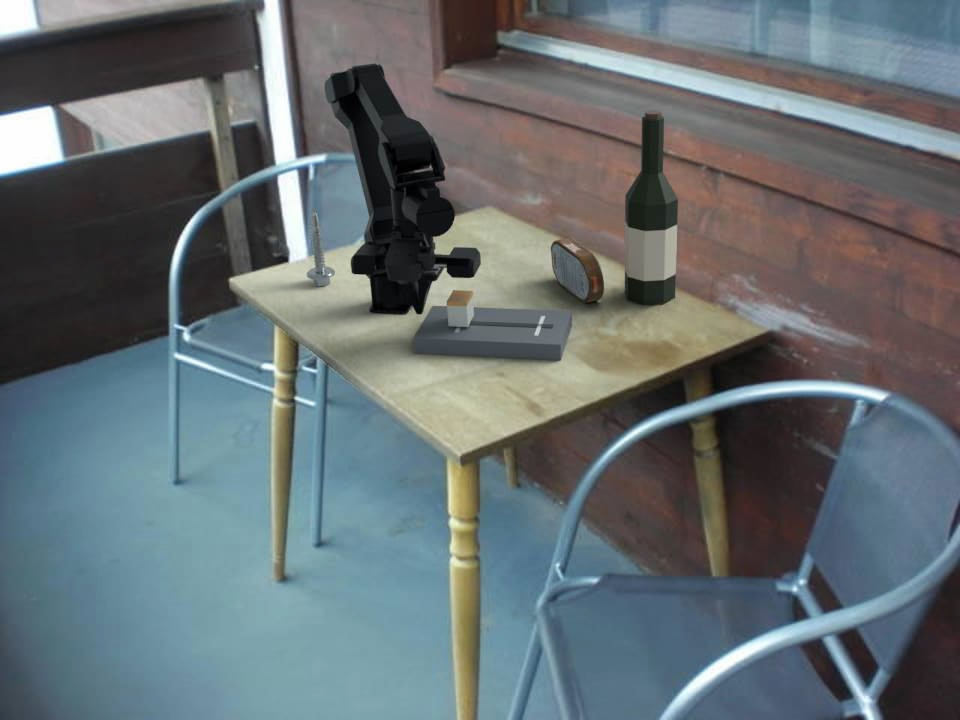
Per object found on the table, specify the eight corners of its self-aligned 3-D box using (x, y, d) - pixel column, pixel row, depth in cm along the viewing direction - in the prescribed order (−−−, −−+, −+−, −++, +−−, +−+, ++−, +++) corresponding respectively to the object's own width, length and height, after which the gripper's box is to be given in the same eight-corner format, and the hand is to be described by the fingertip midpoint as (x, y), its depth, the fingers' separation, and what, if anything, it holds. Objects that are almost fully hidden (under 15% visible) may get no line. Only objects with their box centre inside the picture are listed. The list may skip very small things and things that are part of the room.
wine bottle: (641, 309, 181) (643, 122, 168) (614, 291, 188) (615, 110, 175) (685, 298, 184) (691, 113, 171) (657, 281, 191) (661, 102, 178)
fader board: (414, 353, 171) (413, 337, 170) (433, 320, 182) (432, 305, 180) (560, 360, 167) (560, 343, 166) (571, 325, 177) (571, 310, 176)
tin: (605, 307, 183) (605, 258, 179) (588, 311, 182) (587, 261, 178) (565, 276, 196) (564, 229, 192) (548, 279, 195) (547, 232, 191)
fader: (448, 326, 172) (446, 301, 170) (454, 314, 176) (453, 290, 174) (468, 327, 172) (466, 302, 170) (474, 314, 176) (473, 290, 174)
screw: (317, 291, 195) (302, 283, 198) (341, 283, 197) (326, 276, 201) (308, 218, 189) (293, 212, 192) (333, 211, 192) (318, 205, 195)
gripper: (334, 233, 163) (345, 333, 170) (462, 236, 159) (468, 338, 166) (357, 207, 172) (367, 303, 179) (478, 210, 169) (483, 307, 176)
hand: (419, 313), depth 175 cm, fingers closed
